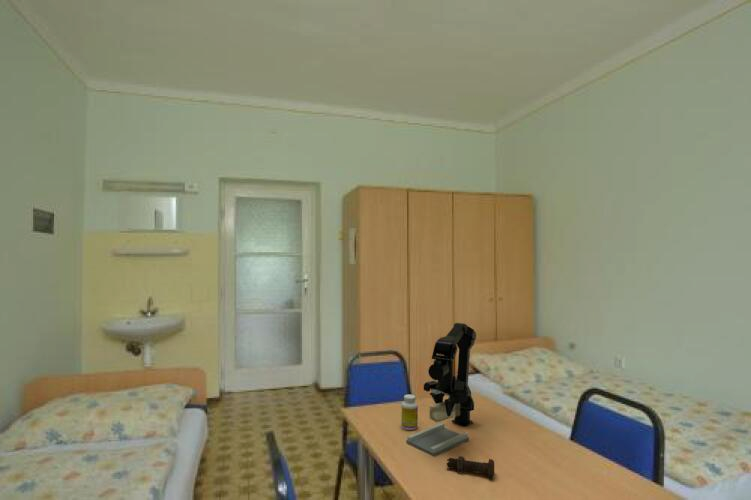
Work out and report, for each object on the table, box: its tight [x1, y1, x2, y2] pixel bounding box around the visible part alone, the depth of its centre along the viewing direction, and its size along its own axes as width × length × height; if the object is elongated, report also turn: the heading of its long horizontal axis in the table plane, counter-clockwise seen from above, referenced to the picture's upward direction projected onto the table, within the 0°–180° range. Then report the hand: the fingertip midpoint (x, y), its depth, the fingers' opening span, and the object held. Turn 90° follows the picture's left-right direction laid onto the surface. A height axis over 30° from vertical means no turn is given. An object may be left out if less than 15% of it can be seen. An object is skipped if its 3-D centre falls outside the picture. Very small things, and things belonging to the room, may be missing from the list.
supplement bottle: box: [400, 394, 419, 431], centre depth 175 cm, size 7×7×13 cm
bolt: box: [446, 455, 495, 480], centre depth 140 cm, size 6×5×15 cm
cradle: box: [405, 422, 470, 457], centre depth 163 cm, size 20×14×2 cm
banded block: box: [429, 400, 460, 423], centre depth 161 cm, size 4×12×5 cm, turn 125°
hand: (444, 414), depth 161 cm, fingers closed on banded block, 4 cm apart
